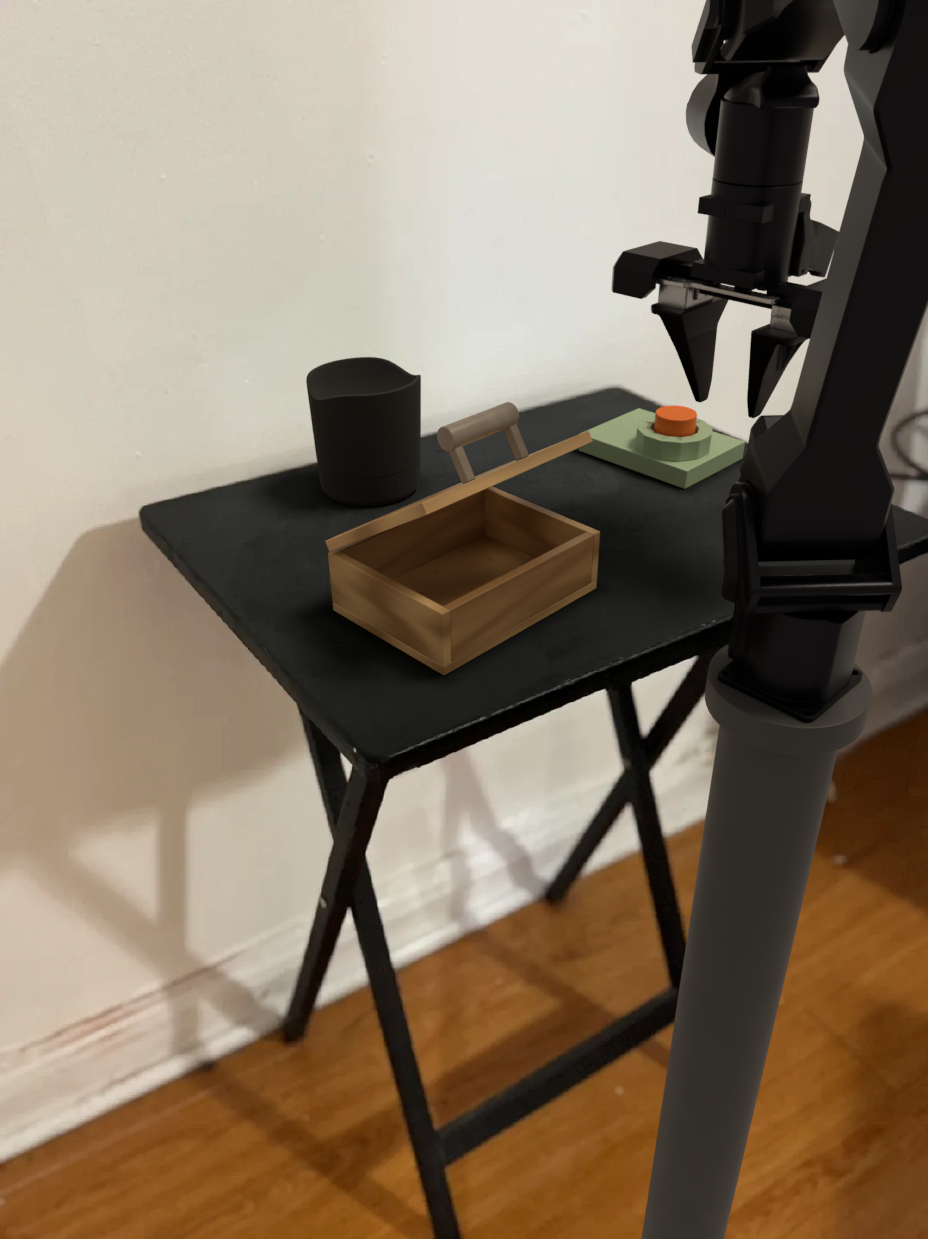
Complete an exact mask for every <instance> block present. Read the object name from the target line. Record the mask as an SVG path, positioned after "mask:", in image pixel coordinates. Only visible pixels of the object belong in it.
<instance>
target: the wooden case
mask: <svg viewBox="0 0 928 1239" xmlns="http://www.w3.org/2000/svg"><path fill="white" fill-rule="evenodd" d="M600 540H601V531H600V530H598V529H595V528H593V527H590V526H588V525H586V524H583V523H581V522H579V521H576V520H574V519H571V518H569V517H566V516H564V515H562V514H560V513H557V512H555V511H552V510H549V509H548V508H545V507H542V506H541V505H537V504H535V503H532V502H531V501H528V500H525V499H524V498H521V497H519V496H516V495H513V494H511V493H510V492H509V493H508V492H506V491H504V490H501V489H500V488H497V487H494V486H492V487H489V488H487V489H485V490H483V491H480V492H478V493H476V494H473V495H471V496H469V497H467V498H464V499H462V500H460V501H458V502H455V503H453V504H451V505H449V506H446V507H444V508H442V509H440V510H437V511H435V512H433V513H431V514H428V515H426V516H423V517H421V518H418V519H415V520H413V521H410V522H407V523H405V524H402V525H399V526H397V527H394V528H391V529H389V530H386V531H383V532H381V533H378V534H375V535H373V536H370V537H367V538H365V539H362V540H359V541H357V542H354V543H352V544H349V545H346V546H344V547H341V548H338V549H336V550H333V551H328V552H327V557H328V558H327V559H328V568H329V579H330V589H331V601H332V609H333V611H334V612H335V613H337V614H338V615H341V616H343V617H344V618H345V619H347V620H349V621H351V622H353V623H354V624H356V625H357V626H359V627H361V628H362V629H365V630H366V631H368V632H370V633H371V634H373V635H374V636H376V637H378V638H379V639H381V640H383V641H385V642H386V643H388V644H390V645H391V646H393V647H395V648H396V649H398V650H400V651H401V652H403V653H405V654H407V655H408V656H410V657H411V658H413V659H415V660H416V661H418V662H420V663H421V664H424V665H425V666H427V667H429V668H430V669H432V670H434V671H435V672H437V673H439V674H441V675H442V676H446V675H448V674H449V673H452V672H453V671H455V670H456V669H458V668H460V667H461V666H463V665H465V664H467V663H469V662H470V661H472V660H474V659H476V658H478V657H479V656H481V655H483V654H484V653H486V652H488V651H490V650H491V649H493V648H494V647H497V646H498V645H500V644H502V643H503V642H506V641H507V640H508V639H511V638H513V637H515V635H518V634H519V633H521V632H523V631H524V630H526V629H527V628H529V627H531V626H533V625H536V624H537V623H539V622H540V621H542V620H544V619H545V618H547V617H550V615H552V614H555V613H556V612H557V611H560V610H561V609H563V608H564V607H566V606H568V605H570V604H572V603H573V602H575V601H577V600H578V599H580V598H582V597H583V596H585V595H587V594H589V593H590V592H593V591H594V590H596V589H597V584H598V582H597V581H598V572H599V571H598V570H599V557H600V556H599V552H600Z"/></svg>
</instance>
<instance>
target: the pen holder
mask: <svg viewBox="0 0 928 1239" xmlns="http://www.w3.org/2000/svg"><path fill="white" fill-rule="evenodd" d="M305 383H306V390H307V397H308V405H309V412H310V413H309V414H310V420H311V421H310V422H311V428H312V435H313V442H314V449H315V457H316V462H317V469H318V474H319V475H318V477H319V482H320V487H321V489H322V491H323V493H325V495H327V496H328V498H330V499H332V500H333V501H335V502H337V503H340V504H343V505H348V506H355V507H378V506H385V505H389V504H393V503H397V502H399V501H402V500H405V499H406V498H408V497H409V496H411V495H412V494H413V493H414V492H415V491H416V490H417V488H418V487H419V485H420V482H421V456H422V455H421V454H422V450H421V448H422V445H421V443H422V441H421V440H422V439H421V438H422V437H421V436H422V426H421V425H422V415H421V414H422V375H421V374H413V373H410V372H409V371H407V370H406V369H404V368H403V367H401V366H399V365H398V364H397V363H395V362H392V361H391V360H388V359H385V358H382V357H376V356H359V357H358V356H357V357H349V358H341V359H336V360H332V361H329V362H326V363H323V364H321V365H318V366H316V367H313V369H311V370H310V371H309V372H308V373H307V375H306V379H305Z"/></svg>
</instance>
